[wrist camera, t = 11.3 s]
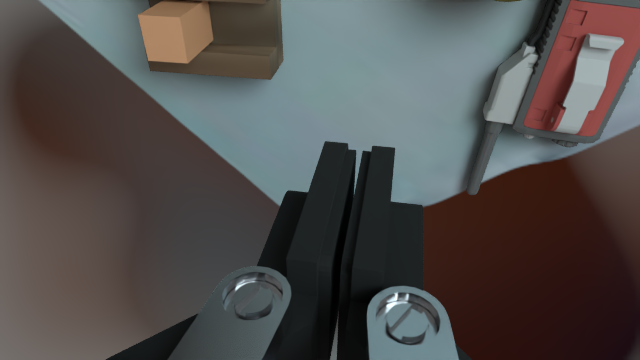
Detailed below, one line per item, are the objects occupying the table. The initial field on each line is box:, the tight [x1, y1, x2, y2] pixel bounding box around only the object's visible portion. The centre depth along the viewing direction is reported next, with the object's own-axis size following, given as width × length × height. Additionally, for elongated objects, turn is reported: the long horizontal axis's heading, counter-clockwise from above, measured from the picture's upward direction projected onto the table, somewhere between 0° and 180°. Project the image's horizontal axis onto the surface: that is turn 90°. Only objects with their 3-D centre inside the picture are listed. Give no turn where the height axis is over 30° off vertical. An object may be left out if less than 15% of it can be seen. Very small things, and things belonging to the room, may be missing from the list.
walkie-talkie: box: [466, 0, 640, 195], centre depth 35 cm, size 9×4×20 cm
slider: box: [138, 0, 213, 63], centre depth 34 cm, size 3×3×5 cm
